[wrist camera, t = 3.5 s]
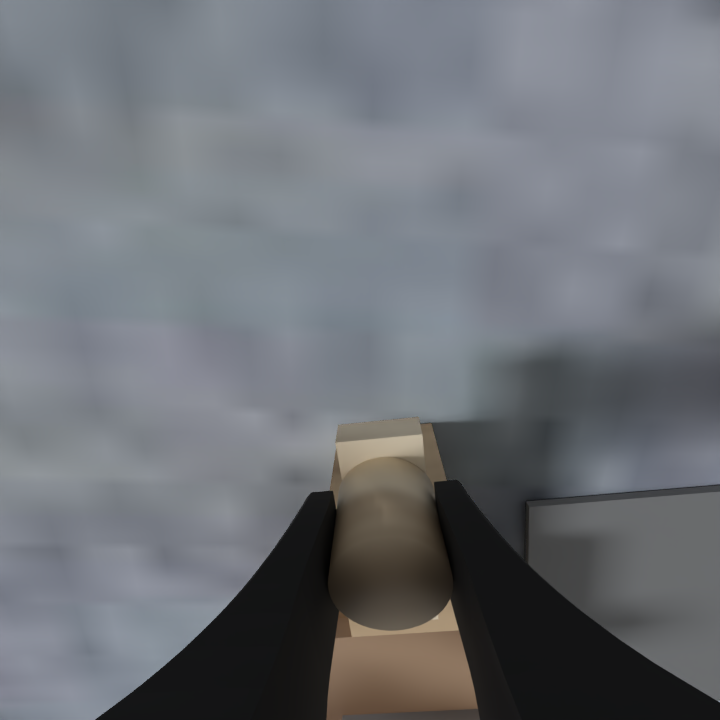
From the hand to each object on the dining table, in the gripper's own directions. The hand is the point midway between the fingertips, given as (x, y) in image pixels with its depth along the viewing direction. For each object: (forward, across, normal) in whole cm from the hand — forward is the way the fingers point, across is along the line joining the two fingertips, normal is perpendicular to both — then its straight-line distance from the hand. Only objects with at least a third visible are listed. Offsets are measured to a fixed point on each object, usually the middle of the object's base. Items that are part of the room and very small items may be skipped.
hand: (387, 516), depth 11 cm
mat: (+7, -12, +12) cm, 19 cm away
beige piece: (+2, 0, +2) cm, 2 cm away
